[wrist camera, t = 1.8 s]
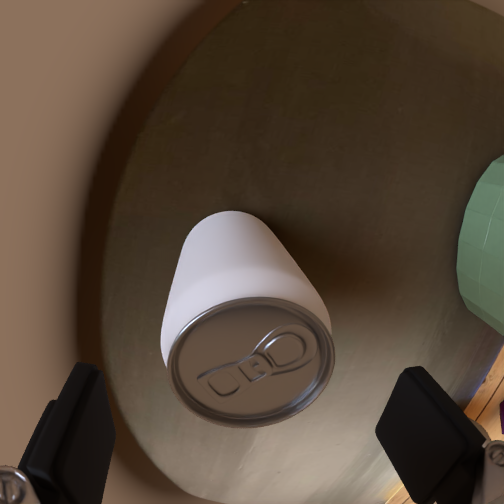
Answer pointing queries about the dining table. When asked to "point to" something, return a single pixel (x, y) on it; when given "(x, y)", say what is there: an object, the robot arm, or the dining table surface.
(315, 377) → the can
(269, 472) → the dining table surface
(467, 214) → the green faceted bowl
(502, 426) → the purple potion bottle
